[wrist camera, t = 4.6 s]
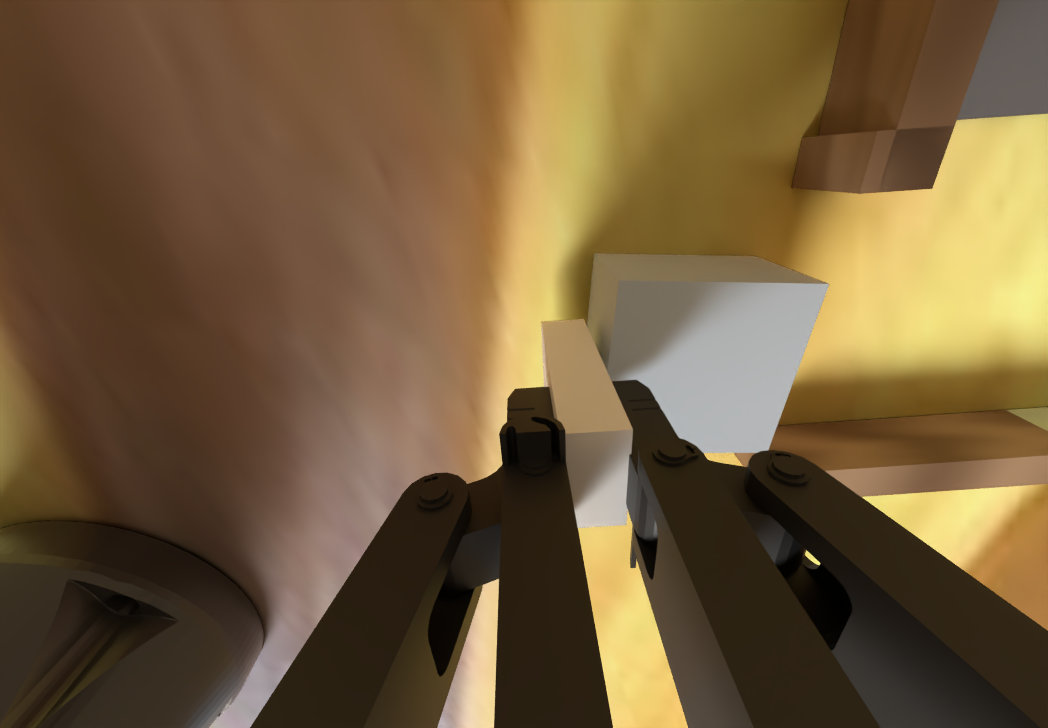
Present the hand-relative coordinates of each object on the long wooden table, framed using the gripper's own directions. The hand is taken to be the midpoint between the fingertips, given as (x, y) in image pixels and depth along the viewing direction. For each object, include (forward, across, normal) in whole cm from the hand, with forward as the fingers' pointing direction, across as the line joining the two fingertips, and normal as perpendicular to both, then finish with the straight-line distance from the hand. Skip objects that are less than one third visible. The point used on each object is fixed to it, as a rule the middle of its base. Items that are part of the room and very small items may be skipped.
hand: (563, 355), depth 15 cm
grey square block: (+2, +4, 0) cm, 5 cm away
